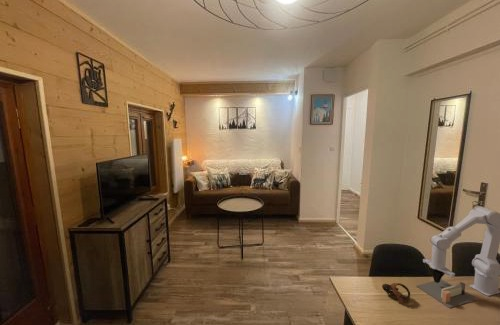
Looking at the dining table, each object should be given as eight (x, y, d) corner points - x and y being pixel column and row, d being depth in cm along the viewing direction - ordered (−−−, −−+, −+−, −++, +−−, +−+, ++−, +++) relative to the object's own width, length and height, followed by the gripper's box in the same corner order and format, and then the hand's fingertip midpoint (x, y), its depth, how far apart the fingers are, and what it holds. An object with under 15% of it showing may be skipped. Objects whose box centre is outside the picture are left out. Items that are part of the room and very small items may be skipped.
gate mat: (441, 279, 124) (441, 279, 124) (476, 300, 109) (476, 299, 109) (416, 286, 120) (416, 285, 120) (449, 308, 105) (449, 307, 104)
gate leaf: (458, 292, 113) (459, 283, 113) (461, 293, 112) (462, 284, 112) (441, 297, 110) (441, 288, 110) (443, 299, 109) (444, 289, 109)
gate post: (460, 292, 114) (461, 281, 114) (465, 294, 112) (466, 284, 112) (457, 293, 114) (458, 282, 113) (462, 295, 112) (463, 285, 111)
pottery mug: (402, 291, 117) (410, 284, 112) (405, 310, 110) (414, 303, 105) (378, 282, 120) (384, 275, 115) (380, 300, 113) (387, 293, 108)
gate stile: (446, 299, 109) (447, 290, 109) (450, 301, 108) (450, 292, 107) (441, 300, 109) (442, 291, 108) (445, 303, 107) (446, 293, 107)
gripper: (419, 252, 123) (417, 275, 125) (448, 267, 109) (446, 292, 111) (428, 250, 125) (427, 272, 127) (458, 264, 111) (456, 289, 113)
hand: (436, 281), depth 119 cm, fingers closed
